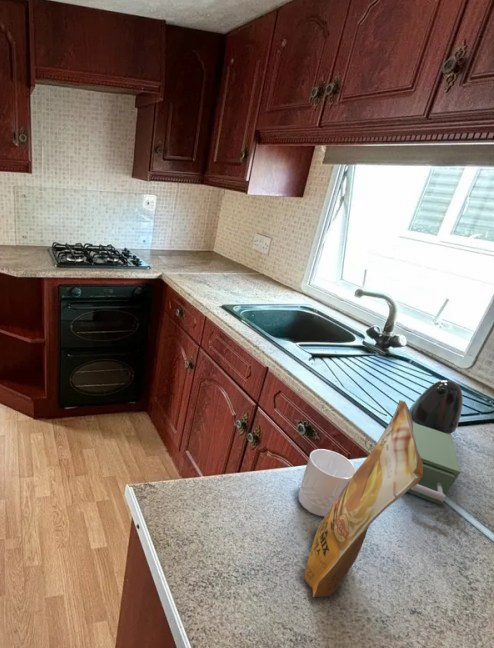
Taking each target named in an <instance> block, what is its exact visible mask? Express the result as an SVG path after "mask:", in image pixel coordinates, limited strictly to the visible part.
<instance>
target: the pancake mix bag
mask: <svg viewBox="0 0 494 648" xmlns="http://www.w3.org/2000/svg"><path fill="white" fill-rule="evenodd" d="M409 409H410V408H409V407H408V404H407V402H406V401H405V400H400V399H399V400H398V404H397V407H396V409H395V411H394V414H393V416H392V417H391V419H390V421H389V422H388V424H387V425H386V428H385V429H384V431H383V433H382V435H381V436H380V437H379V440H378V441H377V443H376V445H374V447H373V449H372V450H371V452H370V453H369V454H368V455H367V457H366V458H365V460H364V461H363V462H362V463H361V465H360V466H359V467H358V468H357V469H356V470H357V471H356V473H355V474H354V475H353V477H352V478H351V479H350V481H349V482H348V484H347V485H346V486H345V488H344V489H343V491H342V492H341V494H340V495H339V497H338V498H337V500H336V501H335V503H334V504H333V506H332V507H331V509H330V510H329V512H328V513H327V515H326V516H323V517H324V518H322V520H321V522H320V523H319V525H318V527H317V530H316V533H315V535H314V539H313V541H312V545H311V548H310V552H309V556H308V558H307V559H308V560H307V562H306V564H305V571H304V580H303V581H304V582H305V583H306V584H307V585H308V586H309V587H310V589H312V598H319V597H329V596H331V595H332V594H334V593H335V592H336V591H337V589H338V588H339V586H340V585H341V583H342V582H343V580H344V579H345V577H346V576H347V575H348V573H349V572H350V569H351V568H352V567H353V565H354V564H355V562H356V560H357V558H358V556H359V554H360V551H361V549H362V547H363V544H364V541H365V538H366V536H367V533H368V529H369V527H370V526H371V524H373V522H374V521H375V520H376V519H377V518H378V517H379V516H380V515H381V514H382V513H383V512H384V511H385V510H386V509H387V508H389V507H390V506H391V505H392V504H394V503H395V502H397V500H399V499H400V498H402V497H403V496H404V495H405V494H406V493H408V492H407V491H408V490H409V489H411V488H413V487H414V486H416V485H417V484H418V482H419V481H420V479H421V478H422V476H423V462H422V459H421V457H420V455H419V452H418V450H417V446H416V442H415V438H414V434H413V422H412V416H411V412H410V410H409Z"/></svg>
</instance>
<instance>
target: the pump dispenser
mask: <svg viewBox="0 0 494 648" xmlns="http://www.w3.org/2000/svg"><path fill="white" fill-rule="evenodd" d="M463 397H464V395H463V390H462V388H461V387H460V385H459V384H458V383H456V382H455V381H452V380H448V379H442V380H439V381H437V382H435V383H433V384H431V385H430V386H429V387H427V388H426V389H425V390H424V391H423V392H422V393H421V394H420V395H419V396H418V397H417V398H416V399H415V401H414V402H413V403H412V405H411V406H410V408H409V410H410V412H411V416H412V422H413V423H416V424H419V425H422V426H425V427H428V428H431V429H434V430H437V431H440V432H443V433H446V434H449V435H452V434H453V433H455V431H456V430H457V428H458V425H459V423H460V420H461V415H462V411H463V403H464V402H463V401H464V398H463Z"/></svg>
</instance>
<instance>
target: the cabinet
mask: <svg viewBox="0 0 494 648" xmlns="http://www.w3.org/2000/svg"><path fill="white" fill-rule="evenodd" d="M413 434H414V438H415V442H416V446H417V450H418V452H419V455H420V457H421V459H422V462H424V463H426V464H429V465H432V466H435V467H437V468H440V469H443V470H446V471H448V472H449V473H452V474H454V475H455V479H454V481H453V482H452V484H451V486H450V487H449V489H448V491H447V492H446V494H445V498H446V497H447V495H448V493H449V492H450V490H451V489H452V487H453V486H454V484H455V482H456V480H457V479H458V477H459V476H460V474H461V468H460V463H459V460H458V456H457V455H458V454H457V452H456V446H455V442H454V438H453V435H452V434H450V435H449V434H446V433H443V432H440V431H437V430H434V429H431V428H428V427H425V426H422V425H419V424H416V423H413ZM406 493H410V494H412V495H414V496H416V497H419V498H422V499H424V500H427V501H430V502H433V503H435V504H437V505H440V506H442V504H443V502H442V501H441V502H440V504H439V503H436V502H434V501H431V500H428V499H426V498H423V497H421V496H418V495H416V494H413V493H411V492H408V491H407V492H406Z"/></svg>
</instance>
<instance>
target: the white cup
mask: <svg viewBox="0 0 494 648" xmlns="http://www.w3.org/2000/svg"><path fill="white" fill-rule="evenodd" d="M357 470H358V469H357V467H356V466H355V465H354V463H353V462H352V461H351V460H350V459H348V458H347V457H345V456H344V455H342V454H341V453H338V452H336V451H333V450H330V449H324V448H319V449H314V450H312V451H311V452H310V453H309V456H308V459H307V463H306V466H305V468H304V473H303V476H302V480H301V483H300V488H299V491H298V493H297V497H298V498H297V499H298V501H299V503H300V505H301V507H303V508H304V509H305V510H307V512H309V513H311V514H314V515H316V516H319V517H325V516H326V515H327V513H328V512H329V510H330V509H331V507H332V506H333V504H334V503H335V501H336V500H337V498H338V497H339V495H340V494H341V492H342V491H343V489H344V488H345V486H346V485H347V484H348V482H349V481H350V479H351V478H352V477H353V475H354V474H355V473H356V471H357Z"/></svg>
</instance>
